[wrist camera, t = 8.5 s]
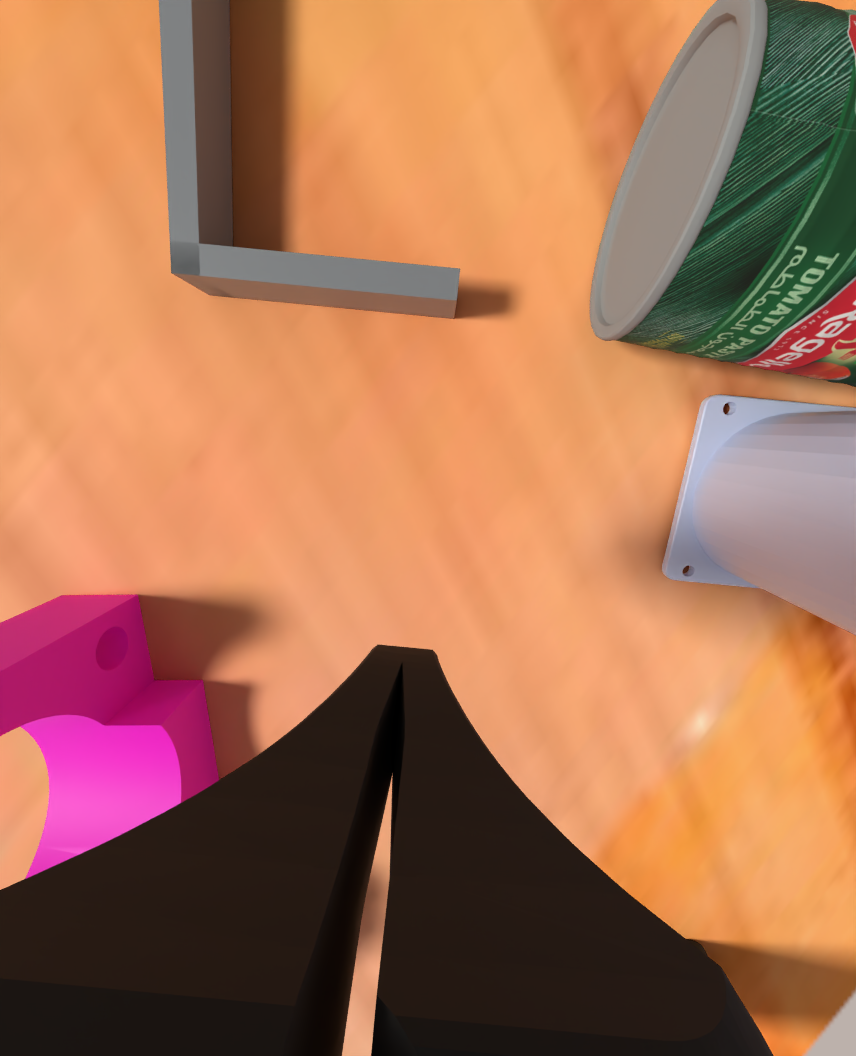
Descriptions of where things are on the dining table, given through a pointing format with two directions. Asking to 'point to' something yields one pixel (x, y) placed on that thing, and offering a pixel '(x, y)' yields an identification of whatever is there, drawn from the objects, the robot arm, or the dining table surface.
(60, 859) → the toy block
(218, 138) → the box
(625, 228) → the canned tomato
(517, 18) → the dining table surface
